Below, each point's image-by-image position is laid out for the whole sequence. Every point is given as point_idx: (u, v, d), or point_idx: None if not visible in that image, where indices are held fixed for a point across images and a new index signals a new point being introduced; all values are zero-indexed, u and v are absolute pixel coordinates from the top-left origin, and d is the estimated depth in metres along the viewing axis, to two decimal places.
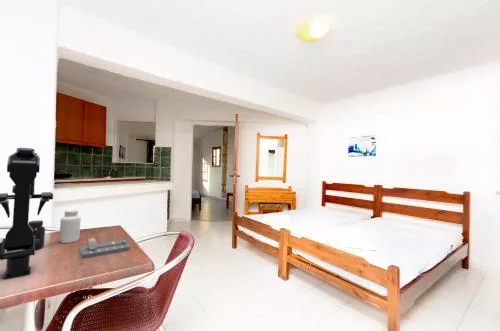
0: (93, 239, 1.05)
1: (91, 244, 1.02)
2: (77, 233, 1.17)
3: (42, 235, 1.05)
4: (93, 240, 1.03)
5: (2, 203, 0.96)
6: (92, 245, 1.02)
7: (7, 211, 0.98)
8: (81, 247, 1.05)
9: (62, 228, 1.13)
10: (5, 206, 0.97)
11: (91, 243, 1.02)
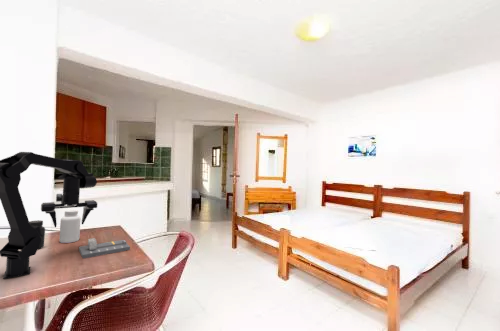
0: (93, 239, 1.05)
1: (91, 244, 1.02)
2: (77, 233, 1.17)
3: None
4: (93, 240, 1.03)
5: (51, 213, 0.94)
6: (92, 245, 1.02)
7: (54, 221, 0.96)
8: (81, 247, 1.05)
9: (62, 228, 1.13)
10: (53, 216, 0.95)
11: (91, 243, 1.02)
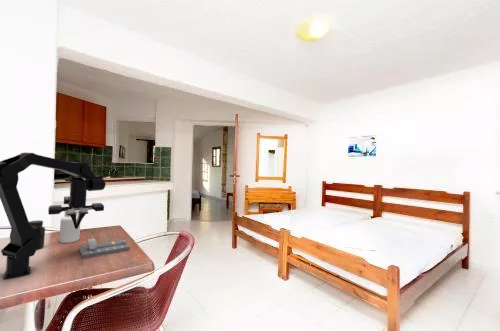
0: (93, 239, 1.05)
1: (91, 244, 1.02)
2: (77, 233, 1.17)
3: (42, 235, 1.05)
4: (93, 240, 1.03)
5: (71, 215, 0.96)
6: (92, 245, 1.02)
7: (75, 222, 0.98)
8: (81, 247, 1.05)
9: (62, 228, 1.13)
10: (74, 217, 0.97)
11: (91, 243, 1.02)
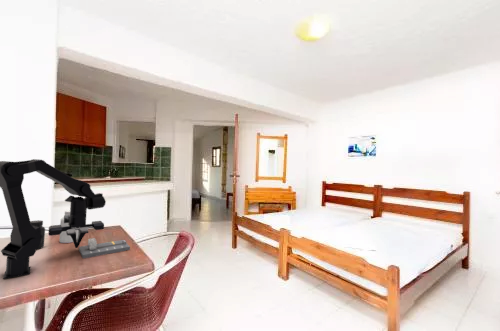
0: (93, 239, 1.05)
1: (91, 244, 1.02)
2: (77, 233, 1.17)
3: (42, 235, 1.05)
4: (93, 240, 1.03)
5: (71, 234, 0.97)
6: (92, 245, 1.02)
7: (75, 242, 0.99)
8: (81, 247, 1.05)
9: None
10: (74, 237, 0.98)
11: (91, 243, 1.02)
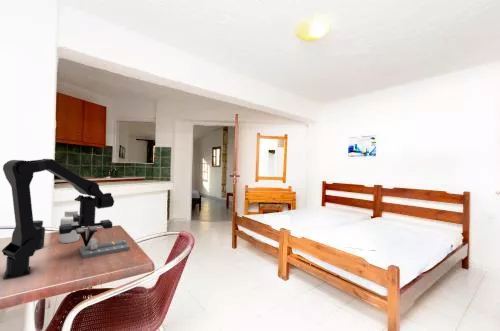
0: (94, 239, 1.05)
1: (92, 244, 1.02)
2: None
3: (42, 235, 1.05)
4: (94, 240, 1.04)
5: (81, 233, 0.99)
6: (93, 245, 1.02)
7: (85, 240, 1.01)
8: (81, 247, 1.05)
9: None
10: (83, 236, 1.00)
11: (92, 243, 1.02)
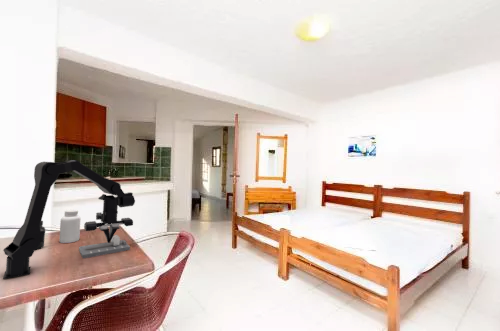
0: (116, 236, 1.11)
1: (115, 240, 1.08)
2: (77, 233, 1.17)
3: None
4: (116, 237, 1.09)
5: (105, 230, 1.05)
6: (116, 241, 1.08)
7: (108, 237, 1.07)
8: (81, 247, 1.05)
9: (62, 228, 1.13)
10: (107, 233, 1.06)
11: (115, 239, 1.08)
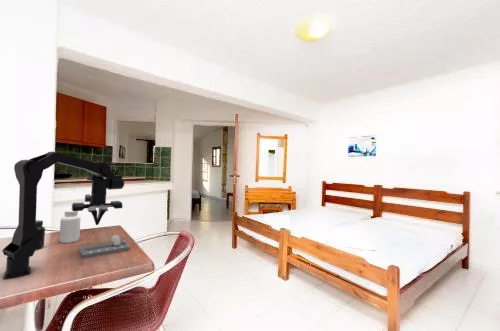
0: (116, 236, 1.11)
1: (115, 240, 1.08)
2: (77, 233, 1.17)
3: (42, 235, 1.05)
4: (117, 237, 1.10)
5: (93, 211, 1.02)
6: (116, 241, 1.08)
7: (96, 219, 1.04)
8: (81, 247, 1.05)
9: (62, 228, 1.13)
10: (95, 214, 1.03)
11: (115, 239, 1.08)
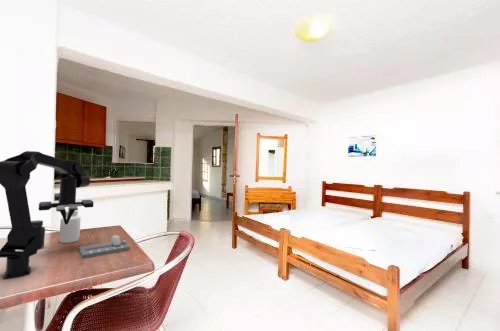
0: (116, 236, 1.11)
1: (115, 240, 1.08)
2: (77, 233, 1.17)
3: (42, 235, 1.05)
4: (117, 237, 1.10)
5: (61, 211, 1.00)
6: (116, 241, 1.08)
7: (65, 218, 1.02)
8: (81, 247, 1.05)
9: (62, 228, 1.13)
10: (63, 213, 1.01)
11: (115, 239, 1.08)
